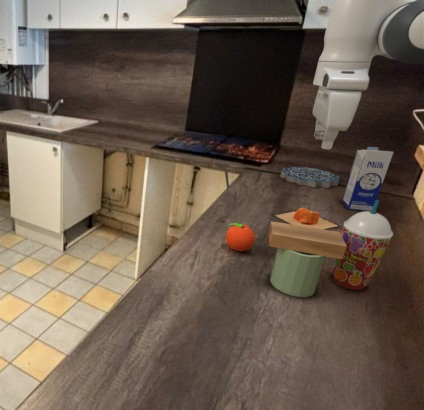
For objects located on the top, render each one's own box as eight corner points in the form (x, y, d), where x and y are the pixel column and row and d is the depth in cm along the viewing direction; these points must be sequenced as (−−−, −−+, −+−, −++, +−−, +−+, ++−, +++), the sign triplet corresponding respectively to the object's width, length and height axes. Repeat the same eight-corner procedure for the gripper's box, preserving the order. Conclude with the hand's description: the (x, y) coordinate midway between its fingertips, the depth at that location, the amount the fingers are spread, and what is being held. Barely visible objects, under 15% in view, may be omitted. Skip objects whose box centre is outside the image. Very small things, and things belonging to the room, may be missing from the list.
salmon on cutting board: (302, 210, 116) (306, 198, 115) (338, 226, 106) (342, 213, 104) (274, 215, 113) (277, 203, 111) (308, 232, 102) (312, 219, 100)
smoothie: (318, 276, 82) (343, 196, 74) (343, 268, 85) (370, 190, 77) (354, 297, 75) (386, 211, 67) (380, 289, 78) (414, 205, 70)
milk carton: (347, 209, 117) (366, 149, 109) (340, 201, 123) (358, 144, 115) (373, 211, 115) (394, 151, 107) (364, 203, 121) (384, 145, 113)
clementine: (215, 247, 95) (219, 223, 92) (228, 238, 99) (233, 215, 96) (244, 259, 89) (249, 234, 86) (257, 250, 93) (262, 225, 90)
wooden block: (268, 233, 81) (271, 221, 80) (335, 244, 76) (339, 231, 75) (269, 246, 75) (272, 233, 74) (342, 259, 71) (346, 246, 69)
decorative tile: (272, 171, 154) (273, 165, 153) (319, 171, 153) (321, 166, 152) (295, 187, 135) (297, 181, 134) (349, 188, 134) (351, 182, 133)
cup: (311, 278, 82) (323, 240, 78) (318, 301, 74) (331, 260, 70) (269, 270, 85) (278, 232, 81) (271, 291, 77) (281, 251, 73)
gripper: (314, 73, 83) (299, 132, 88) (331, 80, 66) (311, 153, 71) (346, 74, 81) (329, 135, 86) (372, 81, 63) (349, 156, 69)
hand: (321, 143), depth 79 cm, fingers open, 8 cm apart
